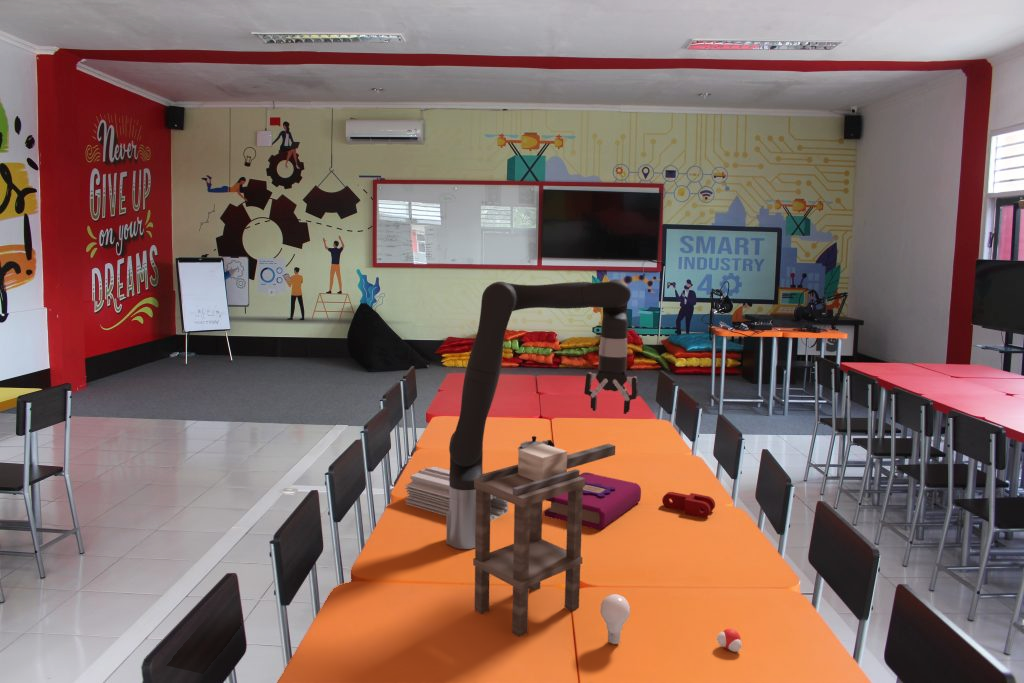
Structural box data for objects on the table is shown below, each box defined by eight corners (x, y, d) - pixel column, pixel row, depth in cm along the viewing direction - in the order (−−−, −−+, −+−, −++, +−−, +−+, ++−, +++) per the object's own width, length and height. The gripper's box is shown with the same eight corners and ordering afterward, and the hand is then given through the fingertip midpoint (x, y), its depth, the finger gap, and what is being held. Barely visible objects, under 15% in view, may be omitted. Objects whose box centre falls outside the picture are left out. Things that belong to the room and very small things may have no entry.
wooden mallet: (542, 483, 169) (542, 457, 168) (517, 474, 175) (518, 449, 174) (623, 458, 189) (624, 435, 188) (599, 451, 195) (600, 428, 194)
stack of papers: (481, 527, 226) (481, 495, 224) (405, 504, 243) (405, 475, 241) (508, 512, 237) (508, 482, 236) (433, 492, 254) (433, 464, 253)
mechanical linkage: (714, 512, 241) (715, 497, 240) (708, 519, 234) (709, 504, 234) (666, 502, 248) (667, 488, 248) (659, 509, 242) (660, 494, 241)
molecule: (736, 642, 164) (737, 624, 164) (743, 655, 160) (745, 636, 159) (713, 642, 164) (714, 625, 164) (720, 655, 159) (721, 636, 159)
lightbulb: (596, 635, 166) (598, 589, 164) (624, 635, 167) (626, 588, 165) (602, 651, 160) (604, 603, 158) (631, 650, 160) (633, 602, 159)
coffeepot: (525, 493, 253) (526, 442, 251) (509, 485, 261) (510, 435, 258) (561, 485, 262) (562, 435, 260) (544, 478, 270) (545, 429, 267)
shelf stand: (519, 637, 165) (522, 491, 160) (472, 609, 176) (474, 473, 171) (580, 607, 178) (585, 472, 173) (533, 583, 190) (536, 456, 185)
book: (640, 504, 247) (641, 482, 246) (602, 532, 224) (603, 508, 223) (584, 491, 258) (584, 470, 257) (542, 516, 235) (542, 493, 234)
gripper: (641, 353, 205) (637, 411, 207) (589, 349, 209) (586, 406, 211) (637, 358, 198) (633, 417, 200) (584, 353, 202) (581, 412, 204)
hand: (609, 411), depth 206 cm, fingers open, 8 cm apart
